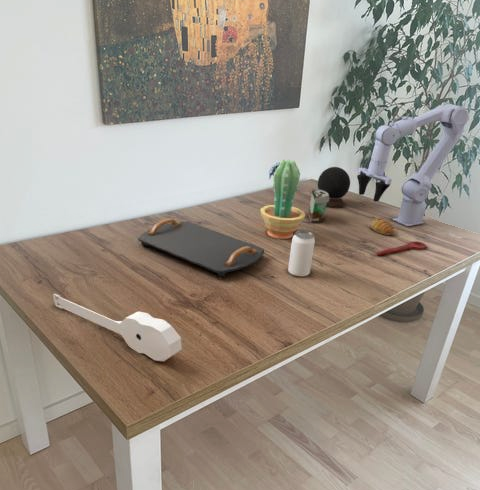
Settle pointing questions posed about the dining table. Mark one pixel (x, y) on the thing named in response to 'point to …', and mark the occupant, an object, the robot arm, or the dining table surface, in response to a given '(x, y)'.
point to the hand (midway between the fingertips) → (368, 197)
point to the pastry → (382, 226)
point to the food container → (317, 205)
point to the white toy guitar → (134, 330)
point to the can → (301, 253)
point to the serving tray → (201, 246)
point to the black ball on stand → (334, 185)
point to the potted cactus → (283, 201)
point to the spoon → (403, 248)
